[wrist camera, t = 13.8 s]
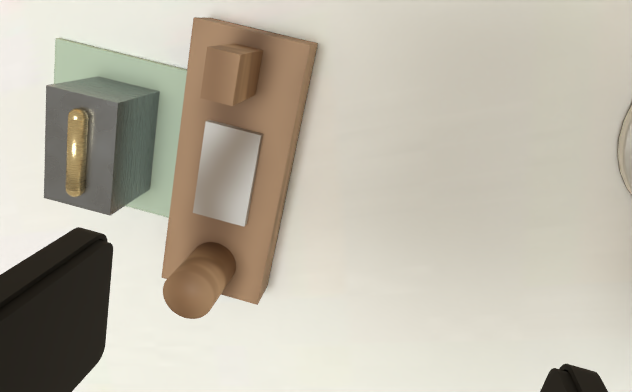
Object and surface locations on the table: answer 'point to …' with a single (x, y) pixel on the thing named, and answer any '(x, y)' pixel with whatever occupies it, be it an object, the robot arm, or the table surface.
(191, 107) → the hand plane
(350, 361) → the table surface
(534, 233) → the table surface
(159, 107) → the mat
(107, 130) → the lever cap
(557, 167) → the table surface
